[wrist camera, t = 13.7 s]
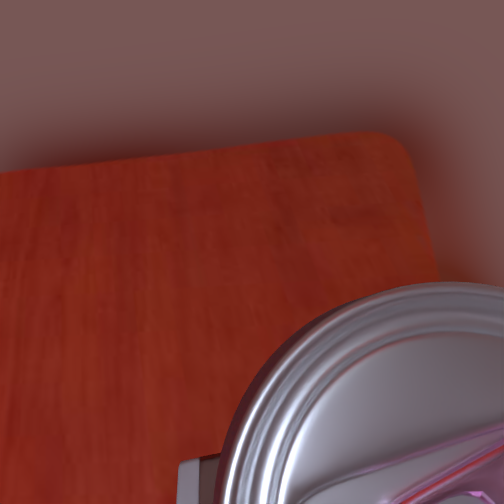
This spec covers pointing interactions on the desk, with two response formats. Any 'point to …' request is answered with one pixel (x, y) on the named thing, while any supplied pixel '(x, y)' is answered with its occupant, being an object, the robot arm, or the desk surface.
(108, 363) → the desk surface
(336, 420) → the beverage can
